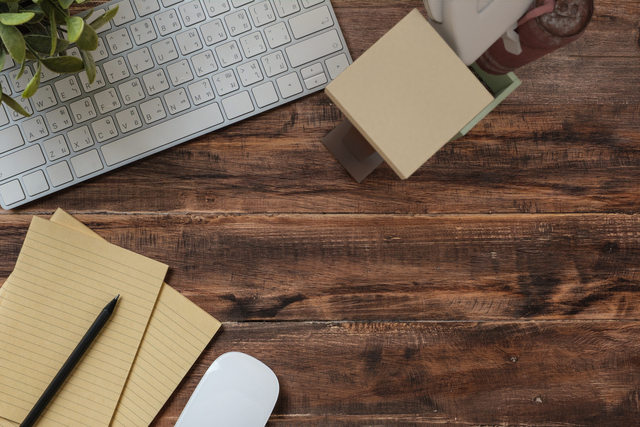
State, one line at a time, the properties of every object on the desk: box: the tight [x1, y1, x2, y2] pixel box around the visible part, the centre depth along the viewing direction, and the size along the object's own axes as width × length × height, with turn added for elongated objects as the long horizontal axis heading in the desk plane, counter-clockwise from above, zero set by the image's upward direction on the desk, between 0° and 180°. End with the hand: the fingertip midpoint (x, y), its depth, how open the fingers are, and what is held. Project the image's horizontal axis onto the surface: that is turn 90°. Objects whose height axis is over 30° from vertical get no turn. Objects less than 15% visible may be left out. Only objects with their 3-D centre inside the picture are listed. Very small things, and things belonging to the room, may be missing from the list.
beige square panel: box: [323, 7, 494, 181], centre depth 40 cm, size 10×10×2 cm
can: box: [475, 0, 595, 76], centre depth 49 cm, size 6×6×14 cm
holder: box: [447, 62, 523, 143], centre depth 66 cm, size 11×11×6 cm
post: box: [319, 116, 385, 185], centre depth 54 cm, size 8×8×27 cm
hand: (534, 32), depth 47 cm, fingers closed on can, 3 cm apart
